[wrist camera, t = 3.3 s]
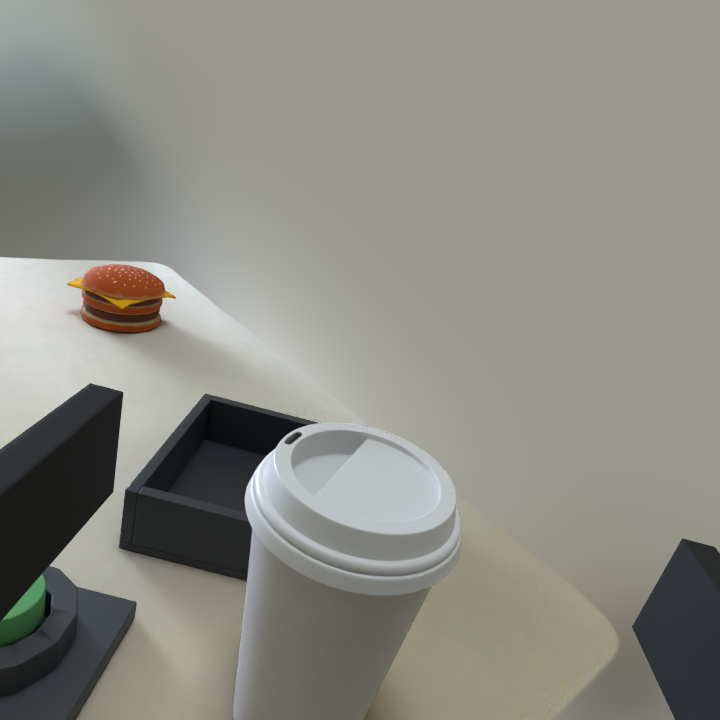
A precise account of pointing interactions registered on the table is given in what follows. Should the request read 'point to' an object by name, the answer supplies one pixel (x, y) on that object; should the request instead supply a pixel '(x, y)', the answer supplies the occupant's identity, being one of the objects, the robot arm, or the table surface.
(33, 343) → the table surface
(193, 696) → the table surface
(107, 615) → the panel
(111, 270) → the hamburger
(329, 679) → the coffee cup
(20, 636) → the button
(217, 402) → the basket
